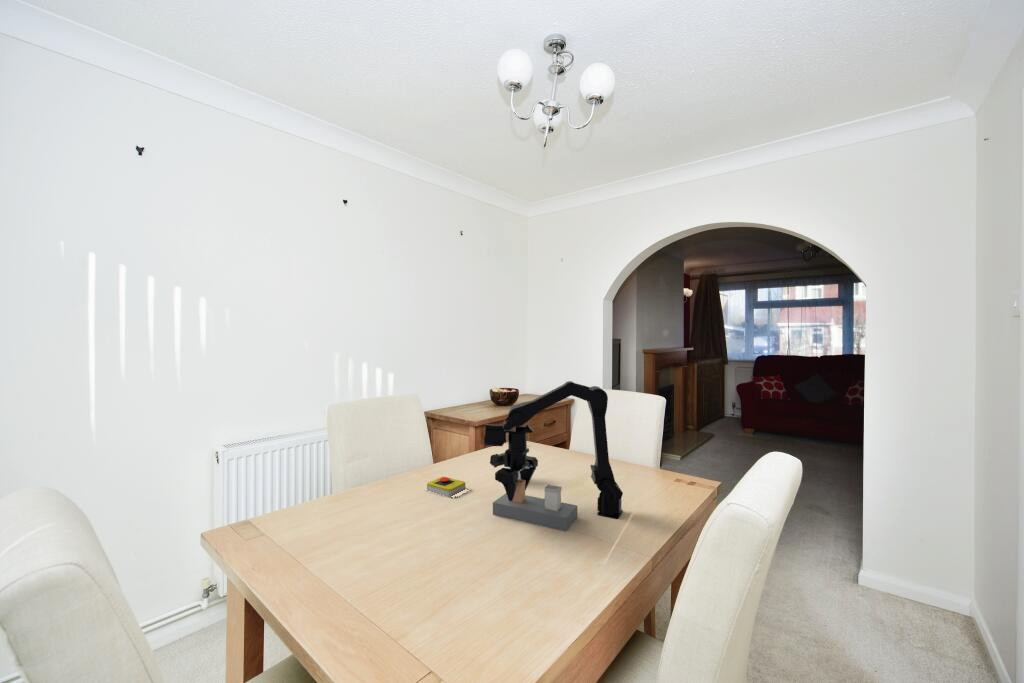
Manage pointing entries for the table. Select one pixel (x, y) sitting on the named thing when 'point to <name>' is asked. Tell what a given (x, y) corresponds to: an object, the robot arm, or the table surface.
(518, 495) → the terracotta plug
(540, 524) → the block
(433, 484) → the emergency button
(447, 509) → the table surface
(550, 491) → the grey plug
